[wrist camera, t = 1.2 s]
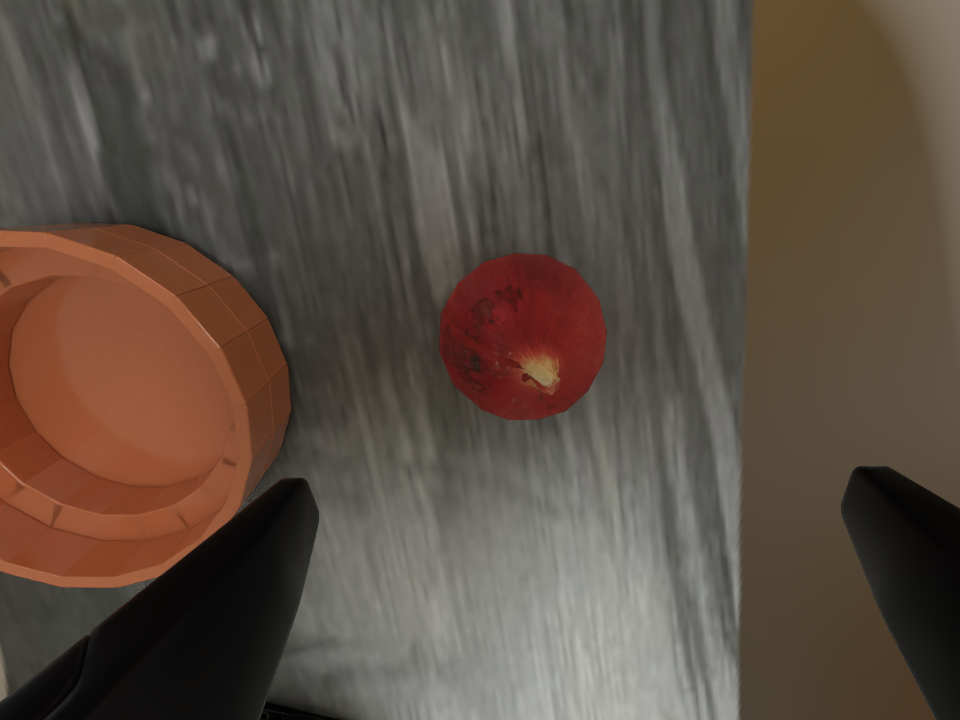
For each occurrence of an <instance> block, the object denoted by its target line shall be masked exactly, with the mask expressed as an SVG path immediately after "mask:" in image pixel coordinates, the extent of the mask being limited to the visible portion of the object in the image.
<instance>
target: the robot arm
mask: <svg viewBox="0 0 960 720" xmlns="http://www.w3.org/2000/svg"><path fill="white" fill-rule="evenodd" d="M841 513H842V517H843V520H844V523H845V525H846V528H847V530H848V533H849V536H850V538H851V541H852V543H853V546H854V548H855V551H856V554H857V556H858V559H859V561H860V564H861V566H862V569H863V571H864V574H865V576H866V579H867V581H868V584H869V586H870V589H871V592H872V594H873V597H874V599H875V601H876V604H877V606H878V608H879V611H880V613H881V615H882V617H883V619H884V621H885V623H886V625H887V627H888V629H889V631H890V633H891V635H892V637H893V639H894V640H895V643H896V644H897V646H898V648H899V650H900V652H901V654H902V656H903V658H904V660H905V662H906V663H907V666H908V667H909V669H910V671H911V673H912V675H913V677H914V679H915V681H916V683H917V685H918V686H919V688H920V690H921V692H922V694H923V696H924V698H925V700H926V702H927V704H928V706H929V708H930V710H931V712H932V713H933V715H934V717H935V719H936V720H960V508H958V507H956V506H954V505H953V504H951V503H949V502H948V501H946V500H944V499H943V498H941V497H939V496H937V495H936V494H934V493H932V492H931V491H929V490H927V489H926V488H924V487H922V486H920V485H918V484H917V483H915V482H914V481H912V480H910V479H908V478H907V477H905V476H903V475H902V474H900V473H898V472H897V471H895V470H893V469H891V468H889V467H886V466H859V467H857V468H855V469H854V470H853V472H852V474H851V476H850V479H849V482H848V485H847V488H846V491H845V494H844V497H843V500H842V503H841ZM318 524H319V511H318V507H317V505H316V502H315V499H314V497H313V494H312V492H311V489H310V486H309V484H308V482H307V481H306V480H305V479H303V478H285V479H281V480H280V481H278V482H277V483H275V484H274V485H273V486H272V487H270V488H269V489H268V490H267V491H265V492H264V493H263V494H262V495H260V496H259V497H258V498H257V499H256V500H254V501H253V502H252V503H251V504H249V505H248V506H247V507H246V508H244V509H243V510H242V511H241V512H239V513H238V514H237V515H236V516H234V517H233V518H232V519H231V520H229V521H228V522H227V523H226V524H224V525H223V526H222V527H221V528H219V529H218V530H217V531H216V532H214V533H213V534H212V535H211V536H209V537H208V538H207V539H206V540H204V541H203V542H202V543H201V544H199V545H198V546H197V547H196V548H194V549H193V550H192V551H191V552H189V553H188V554H187V555H186V556H184V557H183V558H182V559H181V560H179V561H178V562H177V563H176V564H174V565H173V566H172V567H171V568H169V569H168V570H167V571H166V572H164V573H163V574H162V575H161V576H159V577H158V578H157V579H156V580H154V581H153V582H152V583H151V584H149V585H148V586H147V587H146V588H144V589H143V590H142V591H141V592H139V593H138V594H137V595H136V596H135V597H133V598H132V599H131V600H130V601H128V602H127V603H126V604H125V605H123V606H122V607H121V608H120V609H118V610H117V611H116V612H115V613H113V614H112V615H111V616H110V617H108V618H107V619H106V620H105V621H103V622H102V623H101V624H100V625H98V626H97V627H96V628H95V629H93V630H92V631H91V633H90V635H86V636H84V637H83V638H82V639H81V640H79V641H78V642H77V643H76V644H74V645H73V646H72V647H71V648H69V649H68V650H67V651H66V652H64V653H63V654H62V655H61V656H59V657H58V658H57V659H56V660H54V661H53V662H52V663H50V664H49V665H48V666H47V667H45V668H44V669H43V670H41V671H40V672H39V673H38V674H36V675H35V676H34V677H32V678H31V679H30V680H29V681H27V682H26V683H25V684H23V685H22V686H21V687H19V688H18V689H17V690H15V691H14V692H13V693H11V694H10V695H9V696H7V697H6V698H5V699H3V700H2V701H1V702H0V720H338V719H334V718H330V717H326V716H322V715H317V714H313V713H309V712H305V711H301V710H296V709H292V708H288V707H284V706H280V705H275V704H271V703H266V700H267V697H268V694H269V691H270V688H271V685H272V683H273V680H274V677H275V674H276V671H277V668H278V665H279V662H280V660H281V657H282V654H283V651H284V648H285V645H286V642H287V639H288V637H289V634H290V631H291V628H292V625H293V622H294V619H295V616H296V613H297V610H298V607H299V604H300V600H301V596H302V592H303V588H304V584H305V579H306V575H307V571H308V567H309V562H310V558H311V554H312V550H313V545H314V541H315V537H316V532H317V528H318Z"/></svg>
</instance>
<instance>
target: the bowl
mask: <svg viewBox="0 0 960 720" xmlns="http://www.w3.org/2000/svg"><path fill="white" fill-rule="evenodd" d="M290 411H291V400H290V387H289V374H288V365H287V363H286V360H285V358H284V355H283V353H282V351H281V348H280V346H279V343H278V341H277V339H276V336H275V334H274V332H273V329H272V327H271V324H270V322H269V320H268V317H267V316H266V315H265V314H264V312H263V311H262V310H261V309H260V308H259V306H258V305H257V304H256V303H255V301H254V300H253V299H252V298H251V297H250V295H249V294H248V293H247V292H246V291H245V289H244V288H243V287H242V286H241V284H240V283H239V282H238V281H237V280H236V278H235V277H232V275H231V274H229V273H228V272H227V271H225V270H224V269H222V268H221V267H219V266H218V265H216V264H215V263H214V262H212V261H211V260H209V259H208V258H206V257H205V256H204V255H202V254H201V253H199V252H198V251H196V250H195V249H193V248H192V247H191V246H189V245H187V244H186V243H184V242H181V241H178V240H175V239H172V238H170V237H167V236H164V235H161V234H158V233H155V232H152V231H149V230H146V229H143V228H140V227H137V226H134V225H129V224H99V223H68V224H53V225H39V226H25V227H10V228H0V571H1V572H4V573H7V574H11V575H15V576H19V577H23V578H27V579H31V580H35V581H39V582H43V583H47V584H51V585H55V586H58V587H61V586H62V587H83V588H117V587H122V586H126V585H130V584H134V583H137V582H141V581H145V580H148V579H152V578H156V577H159V576H161V575H162V574H163V573H164V572H166V571H167V570H168V569H169V568H171V567H172V566H173V565H174V564H176V563H177V562H178V561H179V560H181V559H182V558H183V557H184V556H186V555H187V554H188V553H189V552H191V551H192V550H193V549H194V548H196V547H197V546H198V545H199V544H201V543H202V542H203V541H204V540H206V539H207V538H208V537H209V536H211V535H212V534H213V533H214V532H216V531H217V530H218V529H219V528H221V527H222V526H223V525H224V524H226V523H227V522H228V521H229V520H231V519H232V518H233V516H234V515H235V514H236V512H237V511H238V510H239V508H240V507H241V506H242V504H243V503H244V501H245V500H246V499H247V497H248V496H249V494H250V493H251V492H252V490H253V489H254V487H255V486H256V485H257V483H258V482H259V480H260V479H261V478H262V476H263V475H264V473H265V472H266V471H267V469H268V468H269V467H270V465H271V464H272V462H273V461H274V460H275V458H276V457H277V455H278V454H279V451H280V449H281V446H282V442H283V438H284V435H285V431H286V428H287V424H288V421H289V417H290Z"/></svg>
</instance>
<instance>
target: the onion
mask: <svg viewBox="0 0 960 720" xmlns="http://www.w3.org/2000/svg"><path fill="white" fill-rule="evenodd" d="M606 335H607V330H606V326H605V322H604V318H603V314H602V310H601V306H600V302H599V299H598V298H597V296H596V295H595V293H594V292H593V291H592V290H591V288H590V287H589V286H588V285H587V283H586V282H585V281H584V280H583V278H582V277H581V276H580V275H579V273H578V272H577V271H576V270H575V269H574V268H572V267H570V266H568V265H565V264H563V263H561V262H559V261H557V260H555V259H553V258H551V257H549V256H547V255H536V254H517V253H515V254H511V255H507V256H504V257H500V258H497V259H493V260H489V261H486V262H484V263H482V264H481V265H480V266H479V267H477V268H476V269H475V270H474V271H472V272H471V273H470V274H469V275H467V276H466V277H465V278H464V279H462V280H461V281H460V282H458V284H457V285H456V287H455V289H454V291H453V293H452V294H451V296H450V298H449V300H448V301H447V303H446V305H445V307H444V309H443V310H442V312H441V317H440V337H439V351H440V354H441V357H442V360H443V362H444V364H445V366H446V369H447V371H448V373H449V375H450V378H451V380H452V382H453V384H454V386H455V387H456V388H457V389H459V390H460V391H461V392H462V393H463V394H464V395H465V396H467V397H468V398H469V399H470V400H471V401H472V402H474V403H475V404H476V405H477V406H478V407H479V408H480V409H481V410H484V411H486V412H489V413H492V414H494V415H497V416H500V417H502V418H505V419H507V420H538V419H541V418H544V417H548V416H551V415H554V414H558V413H561V412H564V411H566V410H568V409H569V408H570V407H571V406H572V405H573V404H574V403H575V402H576V401H578V400H579V399H580V398H581V397H582V396H583V395H584V394H585V393H586V392H587V391H588V390H589V388H590V386H591V385H592V383H593V381H594V379H595V377H596V375H597V373H598V371H599V370H600V368H601V366H602V364H603V361H604V353H605V344H606Z"/></svg>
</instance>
